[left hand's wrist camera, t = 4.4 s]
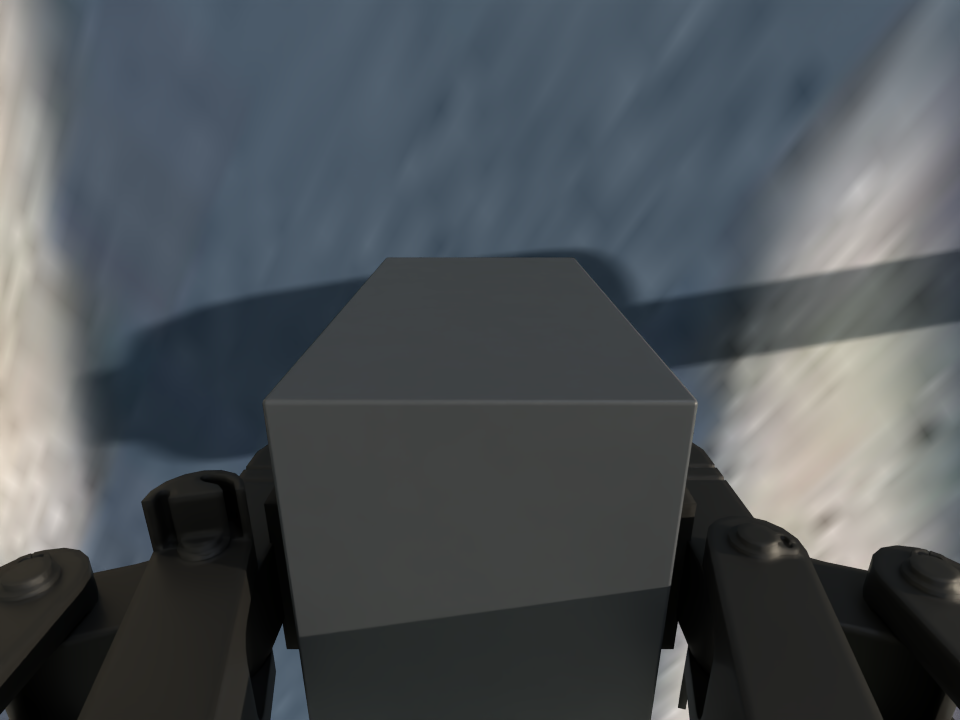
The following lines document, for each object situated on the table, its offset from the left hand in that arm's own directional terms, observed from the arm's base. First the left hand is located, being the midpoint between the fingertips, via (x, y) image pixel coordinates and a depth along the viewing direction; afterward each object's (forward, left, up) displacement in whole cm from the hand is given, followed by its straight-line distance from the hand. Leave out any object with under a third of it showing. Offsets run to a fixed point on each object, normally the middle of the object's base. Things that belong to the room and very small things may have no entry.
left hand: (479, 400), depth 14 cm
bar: (+6, +4, -1) cm, 7 cm away
